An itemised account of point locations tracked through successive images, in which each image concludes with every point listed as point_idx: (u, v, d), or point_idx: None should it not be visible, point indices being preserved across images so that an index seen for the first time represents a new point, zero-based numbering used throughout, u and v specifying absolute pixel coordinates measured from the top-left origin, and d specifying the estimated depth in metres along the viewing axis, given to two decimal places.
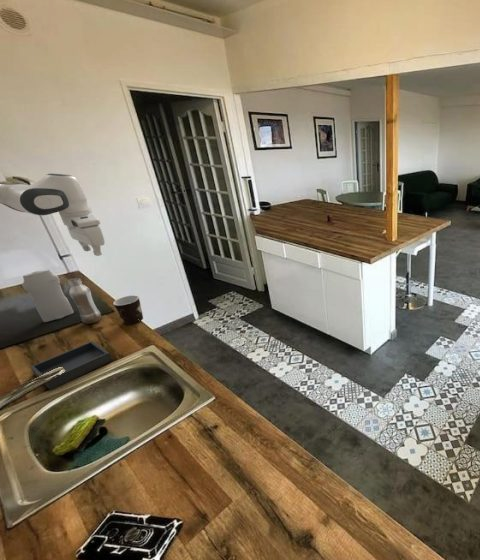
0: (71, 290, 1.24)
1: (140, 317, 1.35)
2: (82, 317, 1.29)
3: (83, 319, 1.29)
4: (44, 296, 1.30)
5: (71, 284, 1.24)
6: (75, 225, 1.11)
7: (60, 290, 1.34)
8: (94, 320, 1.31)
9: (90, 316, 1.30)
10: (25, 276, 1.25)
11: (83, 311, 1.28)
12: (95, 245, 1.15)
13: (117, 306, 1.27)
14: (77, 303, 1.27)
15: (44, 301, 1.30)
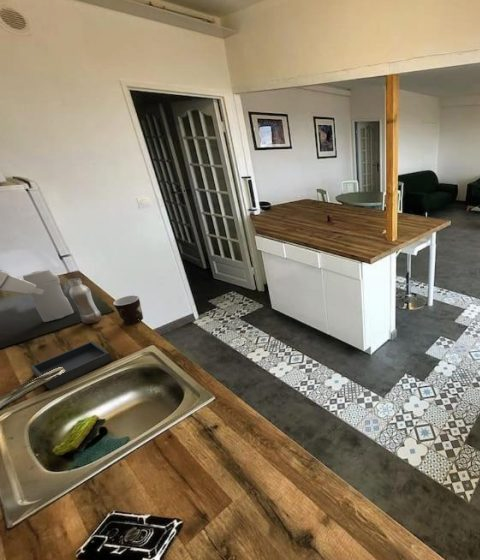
0: (71, 290, 1.24)
1: (140, 317, 1.35)
2: (82, 317, 1.29)
3: (83, 319, 1.29)
4: (44, 296, 1.30)
5: (71, 284, 1.24)
6: None
7: (60, 290, 1.34)
8: (94, 320, 1.31)
9: (90, 316, 1.30)
10: (25, 276, 1.25)
11: (83, 311, 1.28)
12: (30, 292, 1.06)
13: (117, 306, 1.27)
14: (77, 303, 1.27)
15: (44, 301, 1.30)
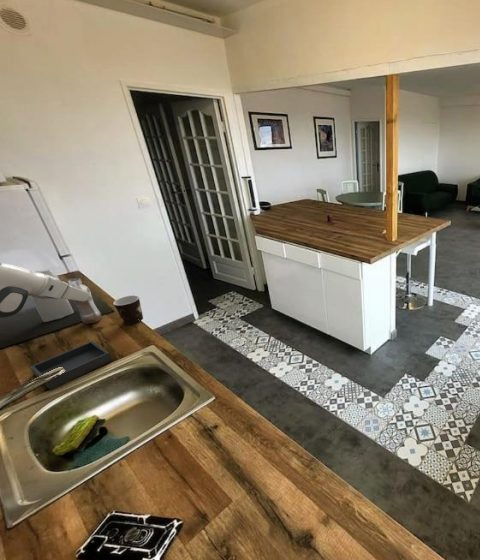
0: None
1: (140, 317, 1.35)
2: (82, 317, 1.29)
3: (83, 319, 1.29)
4: None
5: (71, 284, 1.24)
6: None
7: None
8: (93, 320, 1.31)
9: (90, 316, 1.30)
10: None
11: (83, 311, 1.28)
12: (85, 300, 1.22)
13: (117, 306, 1.27)
14: (77, 303, 1.27)
15: (44, 301, 1.30)
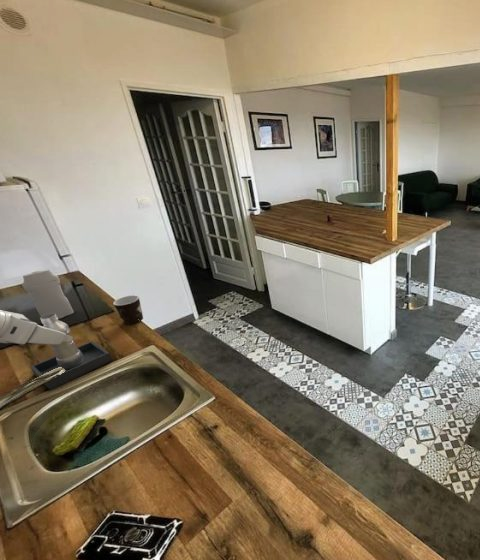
0: None
1: (140, 317, 1.35)
2: (59, 361, 1.03)
3: (60, 364, 1.03)
4: (44, 296, 1.30)
5: (44, 322, 0.98)
6: None
7: (60, 290, 1.34)
8: (74, 364, 1.05)
9: (70, 359, 1.04)
10: (25, 276, 1.25)
11: (60, 354, 1.02)
12: (60, 342, 0.95)
13: (117, 306, 1.27)
14: (52, 345, 1.00)
15: (44, 301, 1.30)
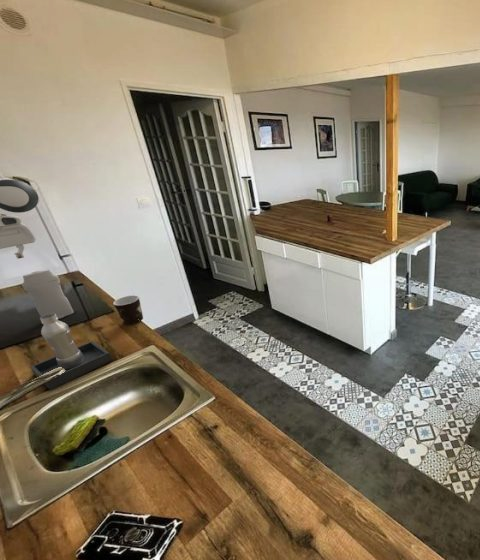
0: (44, 329, 0.98)
1: (140, 317, 1.35)
2: (59, 361, 1.03)
3: (60, 364, 1.03)
4: (44, 296, 1.30)
5: (44, 322, 0.98)
6: (11, 222, 1.03)
7: (60, 290, 1.34)
8: (74, 364, 1.05)
9: (70, 359, 1.04)
10: (25, 276, 1.25)
11: (60, 354, 1.02)
12: None
13: (117, 306, 1.27)
14: (52, 345, 1.00)
15: (44, 301, 1.30)
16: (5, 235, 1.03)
